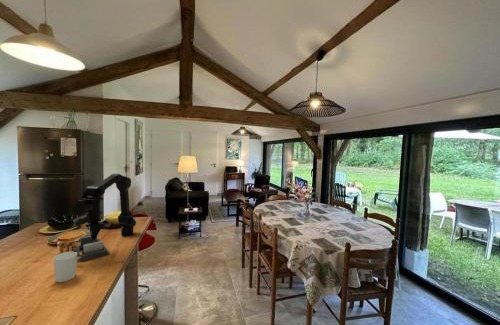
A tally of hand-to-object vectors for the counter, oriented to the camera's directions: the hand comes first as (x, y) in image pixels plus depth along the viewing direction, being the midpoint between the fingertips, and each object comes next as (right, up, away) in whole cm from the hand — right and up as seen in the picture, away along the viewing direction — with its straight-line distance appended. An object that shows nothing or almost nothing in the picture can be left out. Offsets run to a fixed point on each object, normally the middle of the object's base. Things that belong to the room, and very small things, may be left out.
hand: (93, 238), depth 117 cm
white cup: (+3, -10, -21) cm, 23 cm away
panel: (0, -9, 0) cm, 9 cm away
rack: (-5, -9, +5) cm, 11 cm away
